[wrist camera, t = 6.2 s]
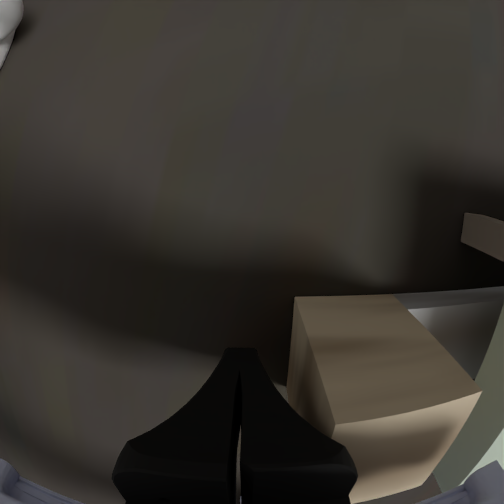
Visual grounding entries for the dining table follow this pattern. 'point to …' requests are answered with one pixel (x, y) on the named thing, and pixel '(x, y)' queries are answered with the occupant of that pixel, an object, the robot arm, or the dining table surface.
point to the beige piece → (390, 377)
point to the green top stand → (480, 381)
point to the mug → (9, 24)
